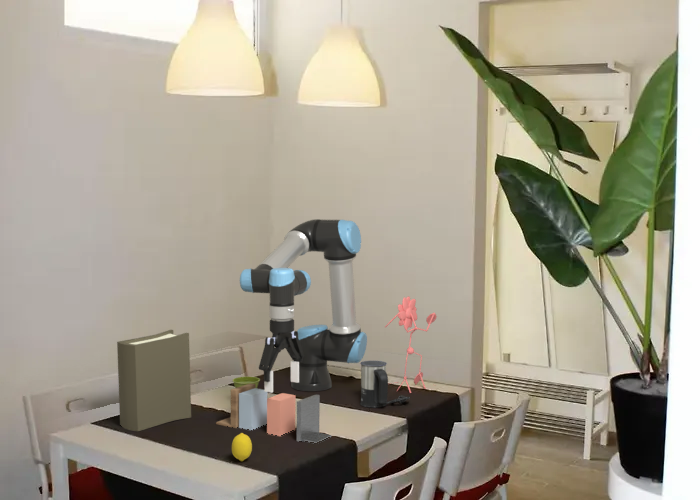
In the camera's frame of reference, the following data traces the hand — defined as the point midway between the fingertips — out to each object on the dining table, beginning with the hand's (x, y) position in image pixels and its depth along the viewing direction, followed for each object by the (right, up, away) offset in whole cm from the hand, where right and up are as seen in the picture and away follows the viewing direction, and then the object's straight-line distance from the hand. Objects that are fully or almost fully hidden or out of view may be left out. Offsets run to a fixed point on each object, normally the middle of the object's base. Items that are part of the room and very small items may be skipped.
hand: (282, 386), depth 254 cm
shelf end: (-16, -13, +10) cm, 23 cm away
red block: (0, -14, +1) cm, 14 cm away
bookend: (+10, -15, -6) cm, 19 cm away
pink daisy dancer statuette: (+41, -10, +57) cm, 71 cm away
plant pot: (-15, -12, +32) cm, 37 cm away
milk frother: (+33, -12, +34) cm, 49 cm away
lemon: (-9, -16, -27) cm, 32 cm away
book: (-42, -13, +10) cm, 45 cm away
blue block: (-10, -14, +6) cm, 18 cm away
